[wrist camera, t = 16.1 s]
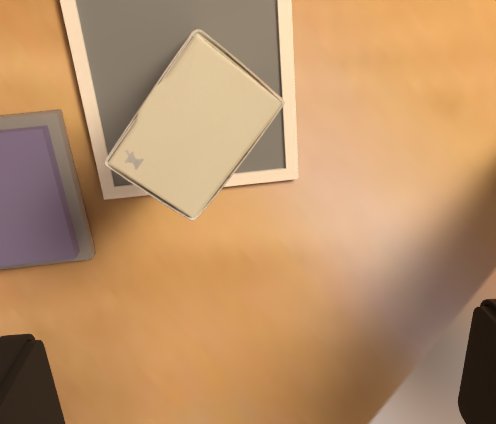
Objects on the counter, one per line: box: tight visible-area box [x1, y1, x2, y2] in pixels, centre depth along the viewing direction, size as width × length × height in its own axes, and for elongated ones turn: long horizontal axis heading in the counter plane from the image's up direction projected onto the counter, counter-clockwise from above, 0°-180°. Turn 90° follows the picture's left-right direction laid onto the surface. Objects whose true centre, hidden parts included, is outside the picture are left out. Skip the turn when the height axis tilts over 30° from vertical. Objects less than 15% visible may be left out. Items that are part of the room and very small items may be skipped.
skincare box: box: [104, 29, 285, 221], centre depth 23 cm, size 6×4×12 cm
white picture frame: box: [60, 0, 299, 200], centre depth 28 cm, size 13×13×1 cm
